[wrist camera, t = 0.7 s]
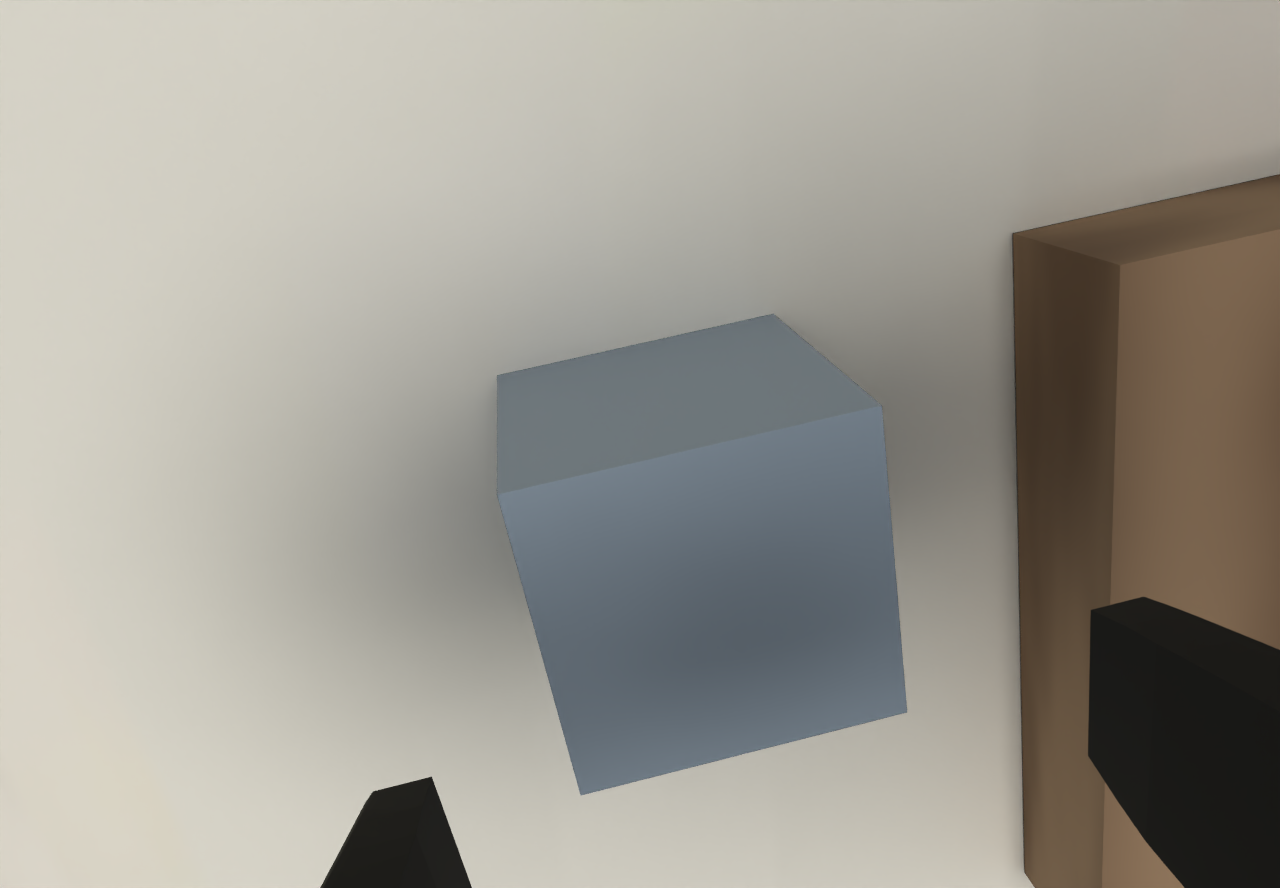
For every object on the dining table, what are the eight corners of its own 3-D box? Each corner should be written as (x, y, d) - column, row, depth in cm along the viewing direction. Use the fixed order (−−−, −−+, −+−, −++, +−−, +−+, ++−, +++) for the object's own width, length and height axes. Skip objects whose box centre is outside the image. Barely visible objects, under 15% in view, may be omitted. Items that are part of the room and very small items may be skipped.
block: (771, 313, 16) (881, 405, 11) (802, 551, 18) (907, 712, 13) (497, 373, 16) (496, 494, 11) (559, 610, 18) (581, 795, 13)
